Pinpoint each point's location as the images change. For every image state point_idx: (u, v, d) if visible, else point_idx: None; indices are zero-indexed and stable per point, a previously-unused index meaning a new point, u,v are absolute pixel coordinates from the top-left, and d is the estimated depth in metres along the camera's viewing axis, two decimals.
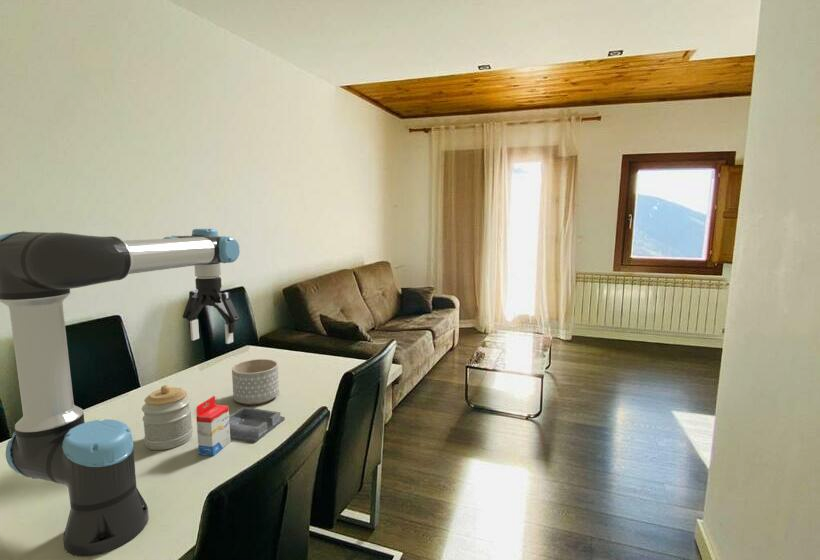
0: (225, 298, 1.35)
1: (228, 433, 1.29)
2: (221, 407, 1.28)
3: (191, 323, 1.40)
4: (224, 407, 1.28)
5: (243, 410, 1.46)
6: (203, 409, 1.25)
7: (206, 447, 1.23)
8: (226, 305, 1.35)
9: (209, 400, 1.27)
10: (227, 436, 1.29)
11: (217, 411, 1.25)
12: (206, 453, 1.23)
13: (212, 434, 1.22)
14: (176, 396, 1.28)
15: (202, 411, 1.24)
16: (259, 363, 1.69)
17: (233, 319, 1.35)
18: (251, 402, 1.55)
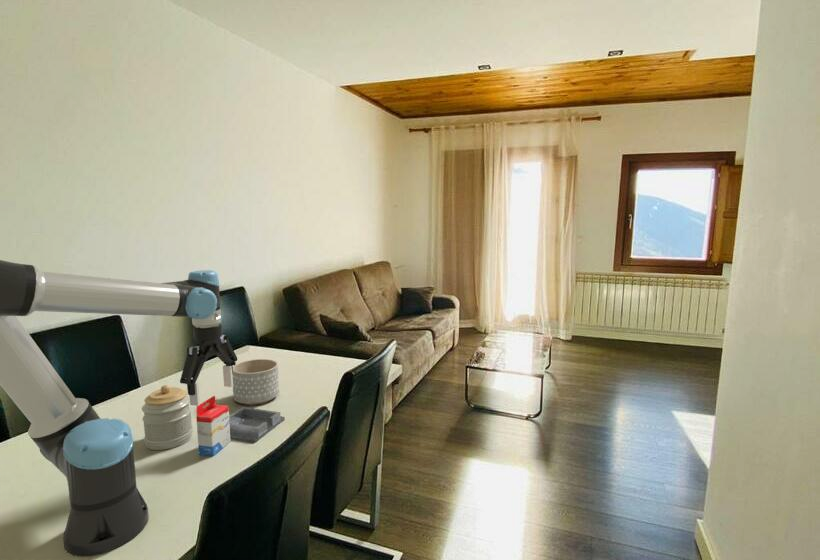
0: (188, 353, 1.17)
1: (228, 433, 1.29)
2: (221, 407, 1.28)
3: None
4: (224, 407, 1.28)
5: (243, 410, 1.46)
6: (203, 409, 1.25)
7: (206, 447, 1.23)
8: None
9: (209, 400, 1.27)
10: (227, 436, 1.29)
11: (217, 411, 1.25)
12: (206, 453, 1.23)
13: (212, 434, 1.22)
14: (176, 396, 1.28)
15: (202, 411, 1.24)
16: (259, 363, 1.69)
17: None
18: (251, 402, 1.55)
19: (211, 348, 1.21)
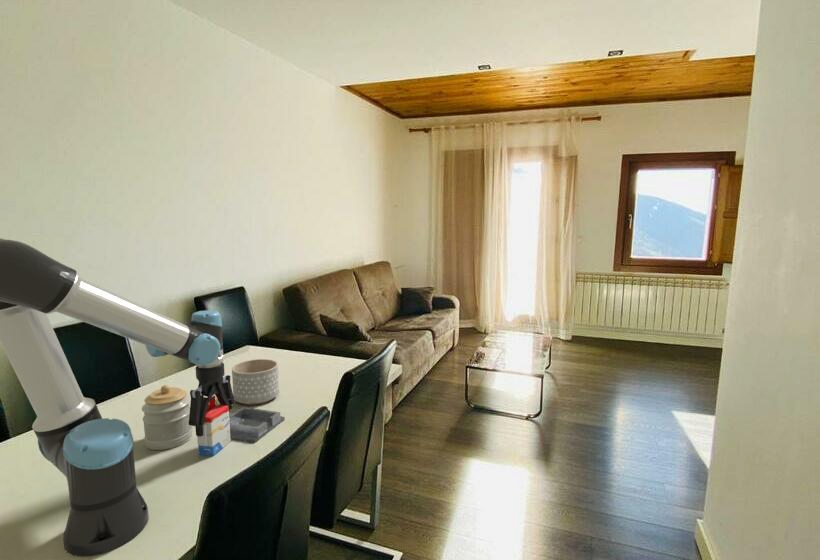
0: (191, 397, 1.19)
1: (228, 433, 1.29)
2: (221, 407, 1.28)
3: None
4: (224, 407, 1.28)
5: (243, 410, 1.46)
6: None
7: (206, 446, 1.23)
8: None
9: None
10: (228, 436, 1.29)
11: (217, 411, 1.25)
12: (206, 453, 1.23)
13: (212, 434, 1.22)
14: (176, 396, 1.28)
15: None
16: (259, 363, 1.69)
17: None
18: (251, 402, 1.55)
19: (213, 387, 1.23)
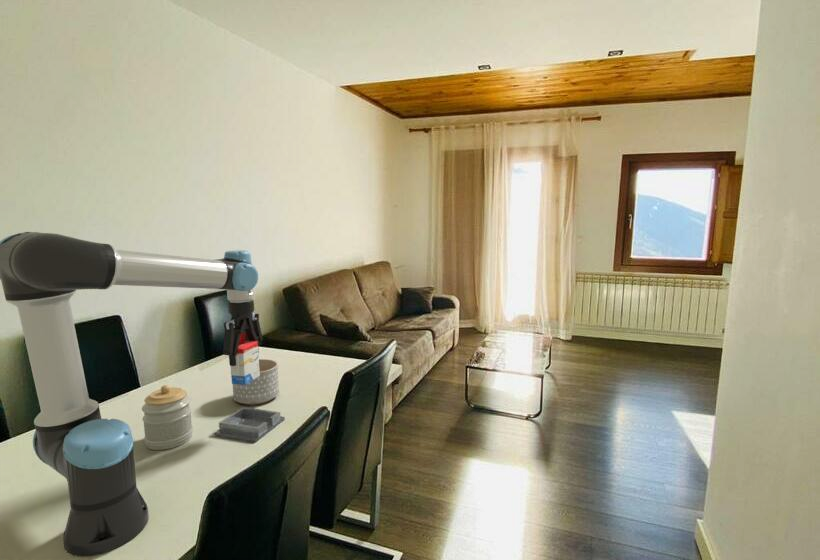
0: (225, 328, 1.28)
1: (257, 367, 1.39)
2: (251, 342, 1.37)
3: None
4: (254, 342, 1.37)
5: (243, 410, 1.46)
6: None
7: (238, 376, 1.32)
8: None
9: None
10: (257, 370, 1.39)
11: (247, 344, 1.35)
12: (238, 382, 1.32)
13: (244, 364, 1.32)
14: (176, 396, 1.28)
15: None
16: (259, 363, 1.69)
17: None
18: (251, 402, 1.55)
19: (244, 322, 1.32)
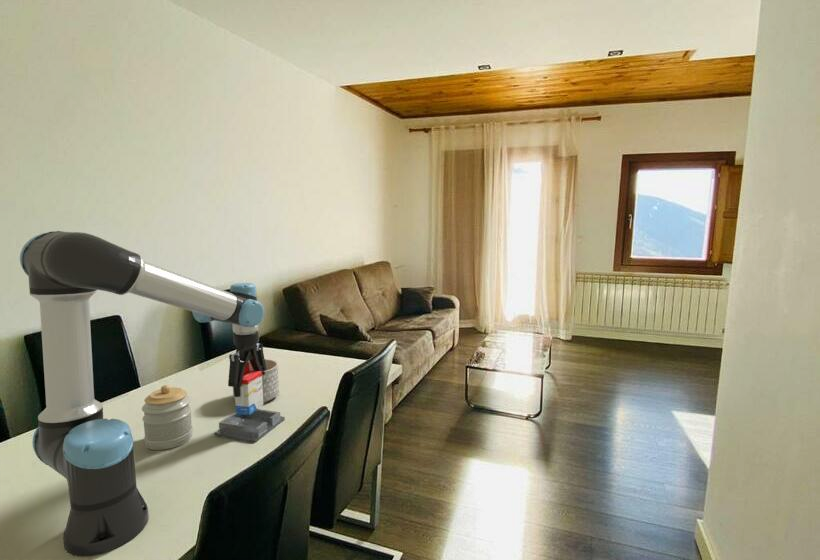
0: (230, 360, 1.31)
1: (261, 396, 1.41)
2: (255, 372, 1.40)
3: None
4: (258, 372, 1.40)
5: None
6: None
7: (243, 407, 1.35)
8: None
9: None
10: (261, 399, 1.41)
11: (252, 375, 1.37)
12: (243, 413, 1.35)
13: (249, 395, 1.34)
14: (176, 396, 1.28)
15: None
16: None
17: None
18: None
19: (249, 353, 1.35)
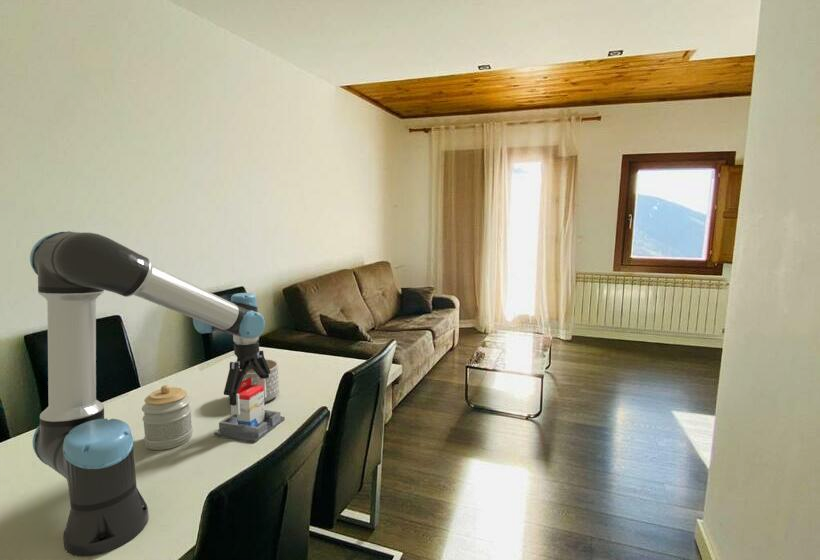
0: (230, 368, 1.31)
1: (263, 411, 1.42)
2: (257, 387, 1.41)
3: None
4: (260, 387, 1.41)
5: None
6: (241, 388, 1.38)
7: (244, 422, 1.36)
8: None
9: (246, 380, 1.40)
10: (262, 414, 1.42)
11: (253, 390, 1.38)
12: None
13: (250, 410, 1.35)
14: (176, 396, 1.28)
15: (240, 390, 1.37)
16: None
17: None
18: None
19: (250, 363, 1.35)
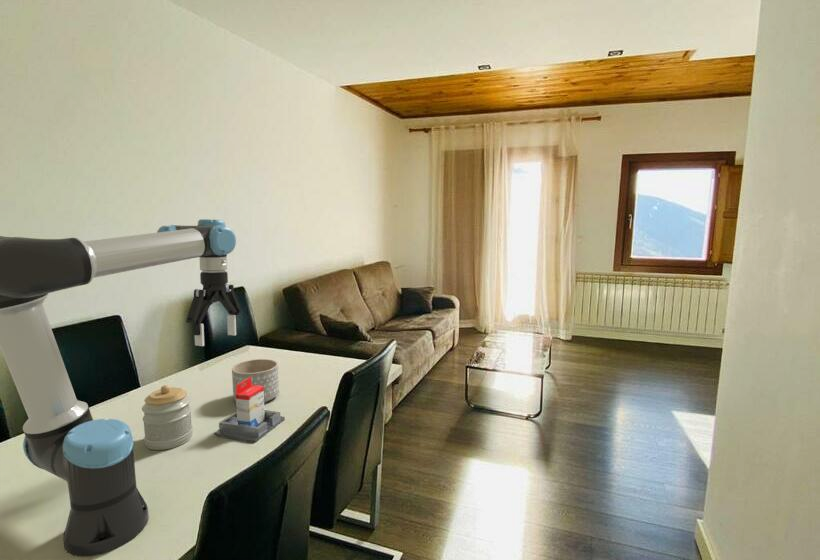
0: (194, 295, 1.23)
1: (263, 411, 1.42)
2: (257, 387, 1.41)
3: None
4: (260, 387, 1.41)
5: None
6: (241, 388, 1.38)
7: (244, 422, 1.36)
8: None
9: (246, 380, 1.40)
10: (262, 414, 1.42)
11: (253, 390, 1.38)
12: None
13: (250, 410, 1.35)
14: (176, 396, 1.28)
15: (240, 390, 1.37)
16: (259, 363, 1.69)
17: None
18: None
19: (217, 293, 1.27)
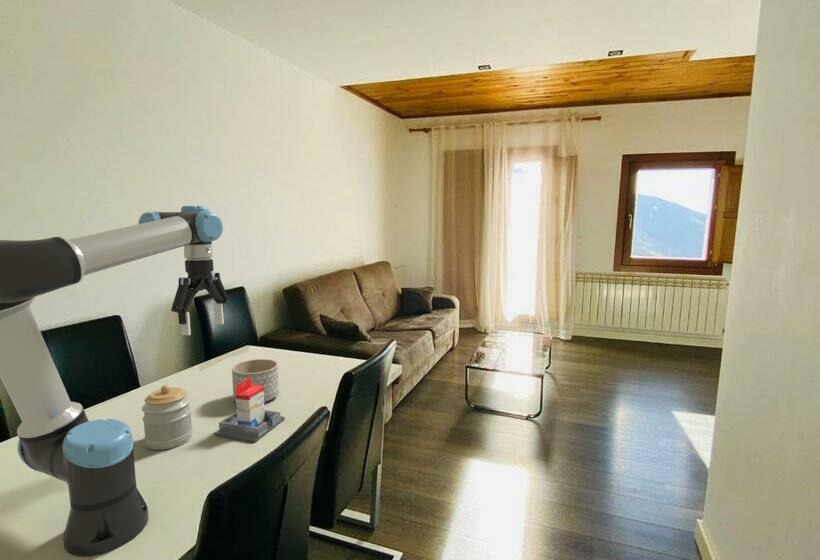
0: (179, 283, 1.21)
1: (263, 411, 1.42)
2: (257, 387, 1.41)
3: None
4: (260, 387, 1.41)
5: None
6: (241, 388, 1.38)
7: (244, 422, 1.36)
8: None
9: (246, 380, 1.40)
10: (262, 414, 1.42)
11: (253, 390, 1.38)
12: None
13: (250, 410, 1.35)
14: (176, 396, 1.28)
15: (240, 390, 1.37)
16: (259, 363, 1.69)
17: None
18: None
19: (202, 281, 1.25)
